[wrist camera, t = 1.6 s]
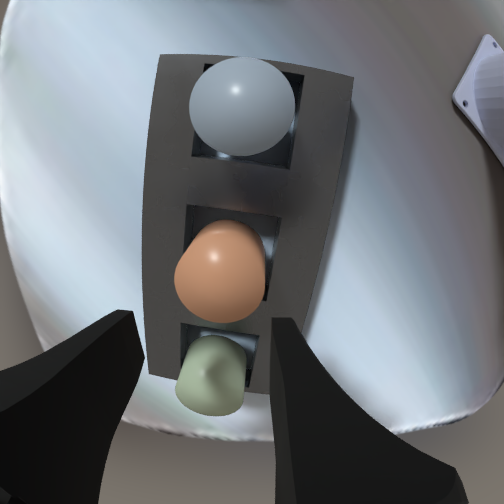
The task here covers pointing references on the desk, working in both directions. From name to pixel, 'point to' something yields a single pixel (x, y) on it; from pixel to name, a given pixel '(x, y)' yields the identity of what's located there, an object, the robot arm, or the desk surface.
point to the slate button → (242, 106)
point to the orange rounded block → (222, 272)
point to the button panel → (236, 206)
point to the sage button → (212, 376)
